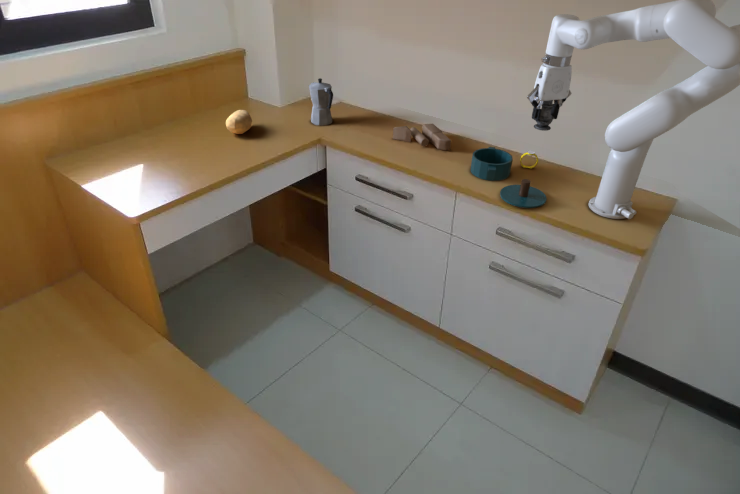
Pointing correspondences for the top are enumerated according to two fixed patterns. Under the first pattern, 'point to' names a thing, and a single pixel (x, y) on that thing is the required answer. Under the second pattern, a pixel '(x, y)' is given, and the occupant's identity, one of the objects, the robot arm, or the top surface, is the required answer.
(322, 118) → the coffeepot
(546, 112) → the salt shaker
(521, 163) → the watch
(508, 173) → the pan
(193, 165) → the top surface
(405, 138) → the wooden block set
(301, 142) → the top surface
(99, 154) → the top surface
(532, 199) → the pan lid
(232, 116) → the potato
